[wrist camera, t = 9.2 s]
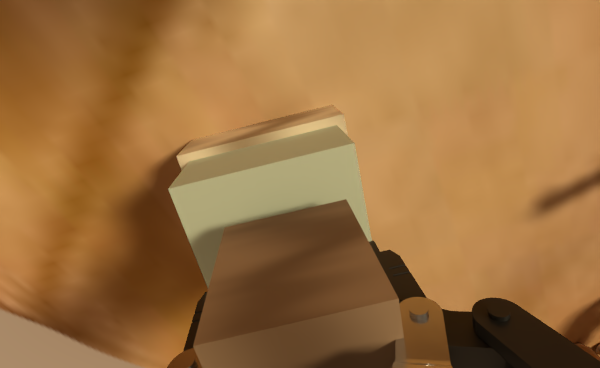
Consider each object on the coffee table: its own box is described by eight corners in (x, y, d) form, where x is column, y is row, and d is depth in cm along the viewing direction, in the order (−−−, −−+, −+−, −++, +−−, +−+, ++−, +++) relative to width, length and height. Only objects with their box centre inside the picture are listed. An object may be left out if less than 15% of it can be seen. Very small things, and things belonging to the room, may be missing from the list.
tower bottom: (330, 103, 22) (343, 114, 18) (355, 227, 25) (370, 257, 21) (192, 138, 22) (176, 156, 18) (234, 257, 25) (228, 292, 21)
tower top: (336, 124, 18) (354, 142, 14) (361, 252, 21) (381, 295, 17) (189, 161, 18) (168, 189, 14) (233, 283, 21) (225, 332, 17)
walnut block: (346, 198, 14) (398, 298, 8) (364, 297, 16) (417, 434, 10) (224, 227, 14) (193, 346, 8) (256, 322, 16) (248, 473, 10)
